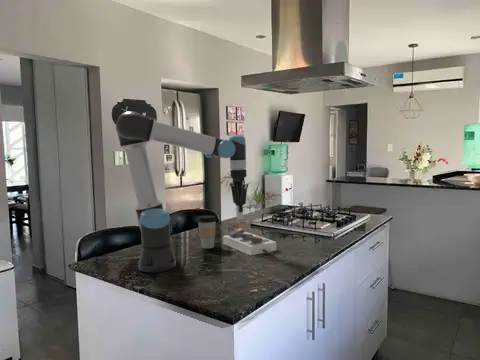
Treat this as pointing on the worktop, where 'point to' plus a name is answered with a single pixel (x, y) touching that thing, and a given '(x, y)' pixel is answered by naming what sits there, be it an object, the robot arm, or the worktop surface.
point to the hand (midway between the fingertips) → (239, 218)
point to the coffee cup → (207, 230)
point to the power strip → (250, 245)
